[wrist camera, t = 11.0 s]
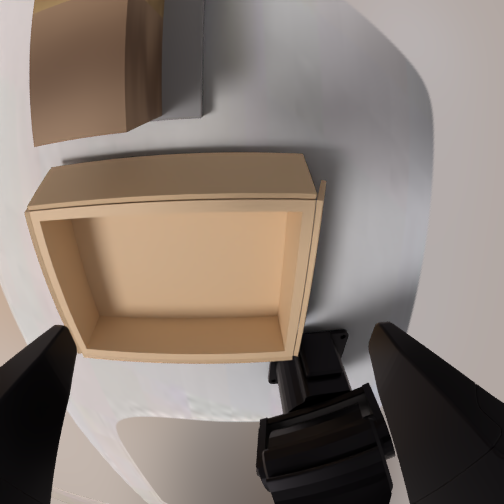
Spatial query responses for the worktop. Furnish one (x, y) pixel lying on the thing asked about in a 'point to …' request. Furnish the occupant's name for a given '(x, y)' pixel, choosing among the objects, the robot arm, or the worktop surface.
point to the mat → (182, 59)
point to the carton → (180, 255)
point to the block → (94, 67)
